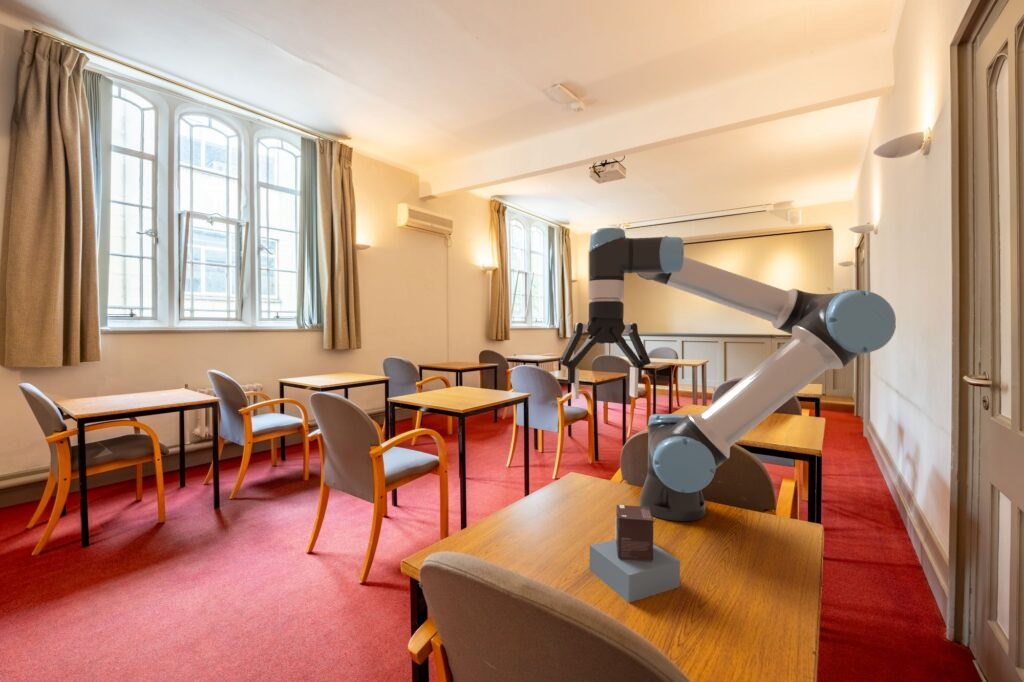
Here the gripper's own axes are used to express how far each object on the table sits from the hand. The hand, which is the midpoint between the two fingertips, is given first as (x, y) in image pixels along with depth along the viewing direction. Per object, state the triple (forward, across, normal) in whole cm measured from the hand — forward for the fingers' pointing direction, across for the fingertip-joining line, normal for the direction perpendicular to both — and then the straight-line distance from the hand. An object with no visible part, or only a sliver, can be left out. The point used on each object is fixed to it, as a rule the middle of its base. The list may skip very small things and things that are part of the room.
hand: (604, 397), depth 103 cm
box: (+24, +2, +21) cm, 32 cm away
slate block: (+29, +2, +21) cm, 36 cm away
